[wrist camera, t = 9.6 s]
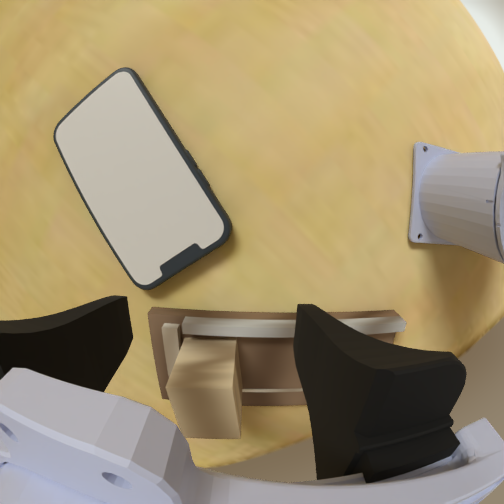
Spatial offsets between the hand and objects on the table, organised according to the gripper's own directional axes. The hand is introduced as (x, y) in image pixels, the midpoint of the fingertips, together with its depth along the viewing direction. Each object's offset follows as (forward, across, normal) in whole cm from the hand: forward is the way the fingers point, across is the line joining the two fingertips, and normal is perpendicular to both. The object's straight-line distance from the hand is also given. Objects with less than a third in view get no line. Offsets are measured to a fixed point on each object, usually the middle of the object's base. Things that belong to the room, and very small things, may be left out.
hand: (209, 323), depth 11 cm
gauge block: (+8, +1, +8) cm, 12 cm away
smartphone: (+10, +7, -6) cm, 14 cm away
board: (+9, -4, +8) cm, 13 cm away
